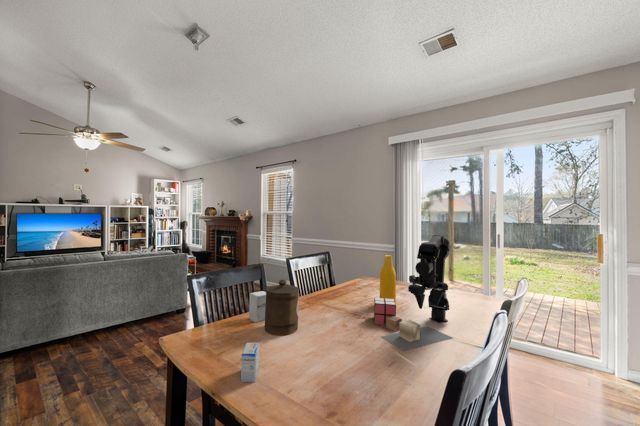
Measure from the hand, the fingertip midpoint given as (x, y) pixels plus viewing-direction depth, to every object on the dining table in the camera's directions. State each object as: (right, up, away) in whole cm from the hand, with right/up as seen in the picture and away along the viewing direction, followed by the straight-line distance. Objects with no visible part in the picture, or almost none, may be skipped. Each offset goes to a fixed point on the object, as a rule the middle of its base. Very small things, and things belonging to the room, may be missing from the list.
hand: (428, 307), depth 124 cm
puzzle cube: (-16, -12, +14) cm, 25 cm away
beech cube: (-7, -8, -4) cm, 11 cm away
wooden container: (-65, -11, +3) cm, 66 cm away
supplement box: (-78, -11, +14) cm, 80 cm away
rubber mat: (-7, -12, -4) cm, 14 cm away
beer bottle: (-8, -13, +39) cm, 42 cm away
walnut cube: (-14, -12, +5) cm, 19 cm away
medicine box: (-70, -10, -34) cm, 79 cm away
